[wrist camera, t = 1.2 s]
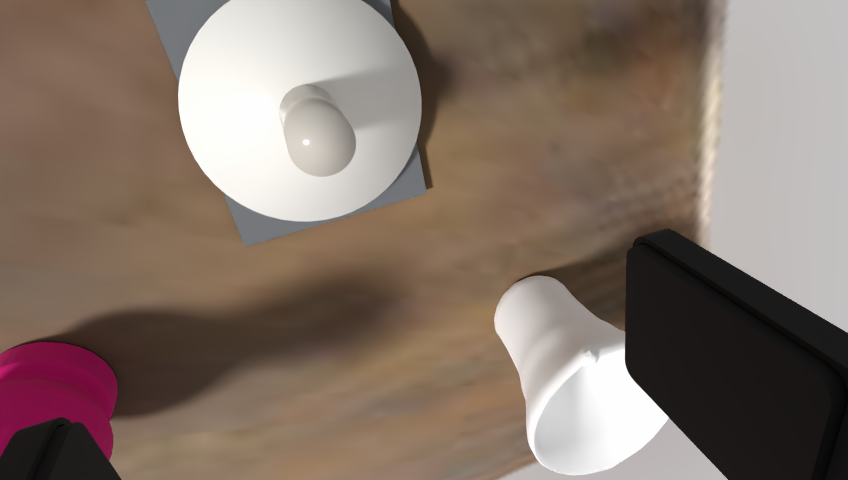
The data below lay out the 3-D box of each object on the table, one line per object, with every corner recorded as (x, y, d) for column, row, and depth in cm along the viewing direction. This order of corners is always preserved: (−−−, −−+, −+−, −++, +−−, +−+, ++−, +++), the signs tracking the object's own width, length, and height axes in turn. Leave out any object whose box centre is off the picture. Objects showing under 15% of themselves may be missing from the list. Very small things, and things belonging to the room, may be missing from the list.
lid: (135, 11, 21) (101, 23, 16) (392, -43, 23) (433, -48, 18) (231, 241, 27) (228, 304, 22) (433, 182, 29) (474, 227, 24)
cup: (568, 226, 33) (679, 312, 25) (592, 328, 38) (692, 431, 30) (443, 287, 33) (513, 397, 24) (484, 384, 37) (554, 505, 29)
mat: (145, -5, 22) (143, -5, 21) (377, -53, 23) (379, -53, 23) (245, 242, 28) (245, 246, 27) (424, 190, 29) (426, 193, 29)
